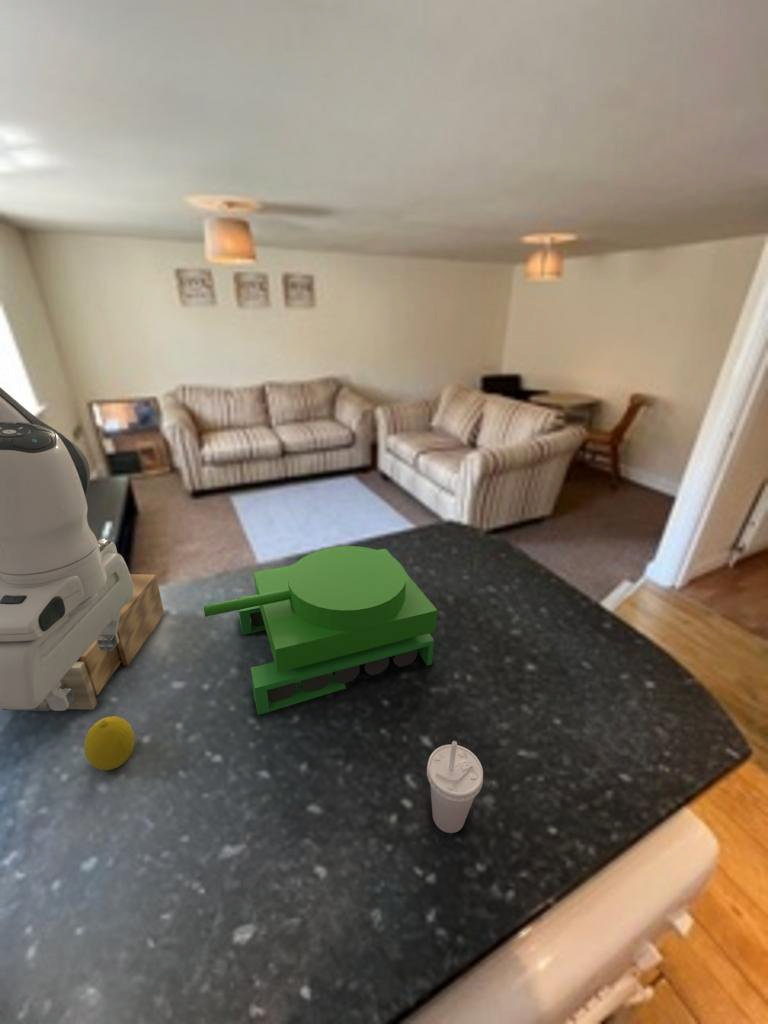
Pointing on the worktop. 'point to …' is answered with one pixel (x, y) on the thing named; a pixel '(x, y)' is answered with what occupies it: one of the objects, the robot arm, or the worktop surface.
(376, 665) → the tank
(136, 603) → the cabinet
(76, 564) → the robot arm
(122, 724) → the lemon
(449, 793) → the smoothie
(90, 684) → the drawer
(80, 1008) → the worktop surface
